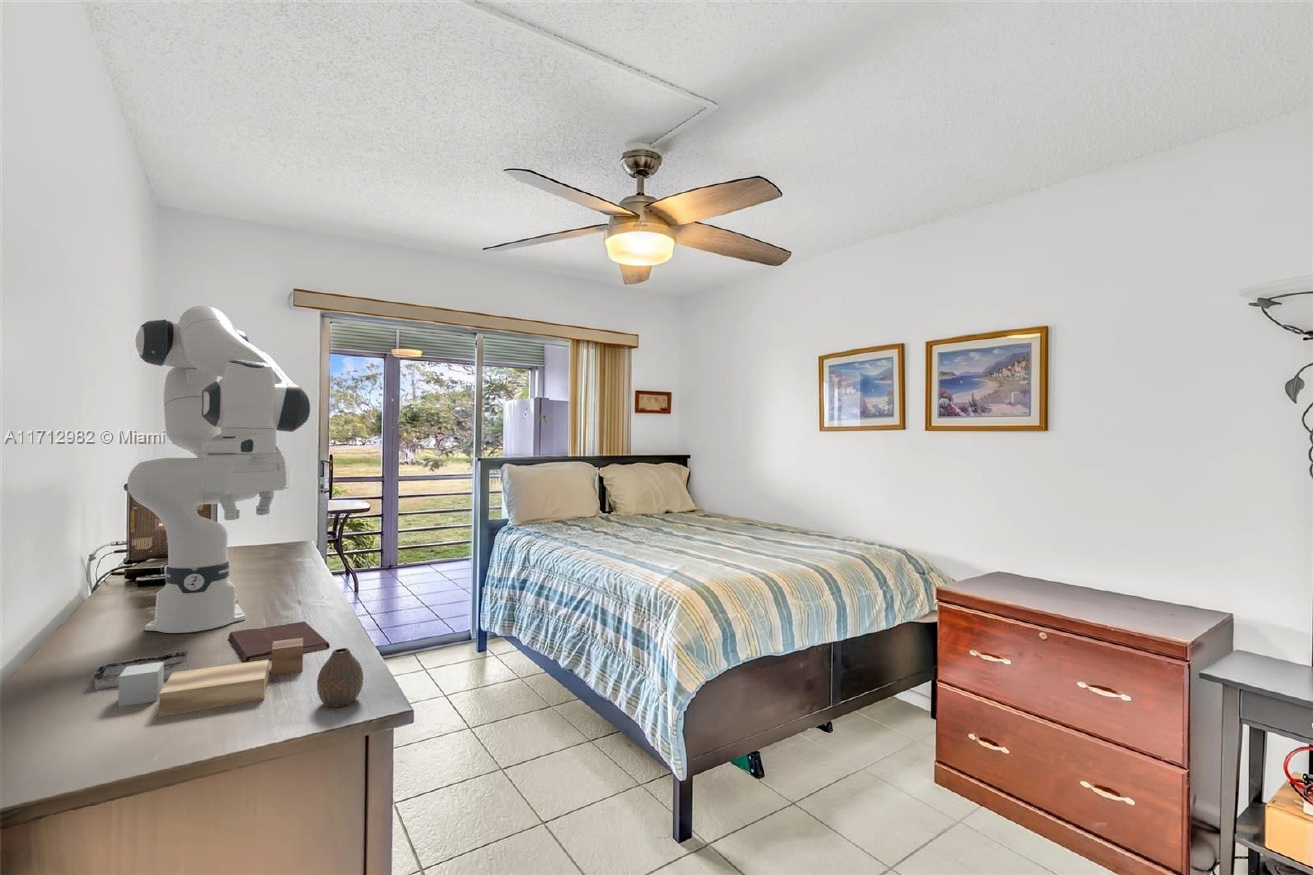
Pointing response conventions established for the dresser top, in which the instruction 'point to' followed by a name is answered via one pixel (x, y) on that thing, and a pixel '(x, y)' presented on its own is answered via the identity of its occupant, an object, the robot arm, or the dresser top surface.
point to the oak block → (214, 687)
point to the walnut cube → (287, 656)
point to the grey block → (141, 683)
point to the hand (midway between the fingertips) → (248, 517)
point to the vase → (340, 679)
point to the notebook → (261, 640)
